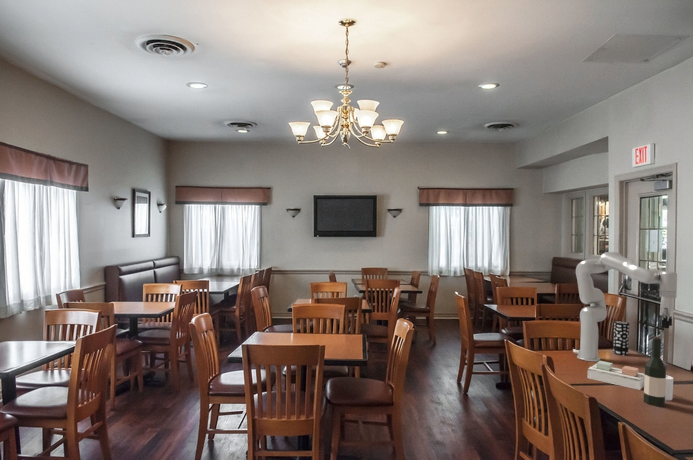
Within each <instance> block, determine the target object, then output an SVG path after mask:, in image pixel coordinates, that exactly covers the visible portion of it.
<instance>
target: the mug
mask: <svg viewBox="0 0 693 460" xmlns="http://www.w3.org/2000/svg"><path fill="white" fill-rule="evenodd" d="M673 398H674V377H673V376H670V375H667V374H666V389H665V401H673Z"/></svg>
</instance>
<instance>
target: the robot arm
mask: <svg viewBox="0 0 693 460" xmlns="http://www.w3.org/2000/svg"><path fill="white" fill-rule="evenodd" d="M575 267H576V268H575V275H576V279H577V288H578V294H579V300H580V301H581V303H582V304H585V305H590V306H584V307H583V308H581V310H580V312H579V320H580V346H579V349H574V348H573V349H572V353H574V354H577V355H576V358H577V359H579V360H581V361H586V362H595V363H597V362H599V361H601V358H600V357H599V356H598V355H599V353H598V352H599V351H598V350H599V325H598V323H600V322H603V321H604V320H605V319H606V318H607V316H608V310H607V305H606V298H605V294H604V292H603V291H602V290H601V289H599V288H598V287H595V286H594V280H593V277H591V274H601V273H605V272H607V271H610V270H612V269H613V270H615V271H618V272H620V273H622V274H624V275H626V276H627V277H628V278H630V279H632V280H634V281H637V282H641V283H643V284H647V285H648V284H659V295H658V296H659V298H660V305H659V308H660V309H659V316H662V318H661V328H662V329H669V328H670V327H672V326H673V316H674V304H675V299H676V298H677V290H678V274H677V272H676V271H672V270H660V269H653V268H652V269H646V268H645V267H641V266H638V265H637V264H634V262H633V260H632V259H630V258H627V257H625V256H623V254H621V253H619V252H616V251H606V252H603V253H602V254H601V255H600V256H599V258H598V259H597V258H594V259H592V258H591V259H590V258H589V259H588V258H587V259H584V260H582V261H580V262H579V263H577V265H576V266H575Z"/></svg>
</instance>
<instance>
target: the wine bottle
mask: <svg viewBox="0 0 693 460" xmlns="http://www.w3.org/2000/svg"><path fill="white" fill-rule="evenodd" d="M651 340H652V341H651V342H652V343H651V346H652V347H651V357H650V359H648V361H647V362H646V363H645V365H644V374H645V380H644V387H643V403H645V404H647V405H650V406H655V407H665V406H666V405H665V404H666V400H665V389H666V375H667V366H666V365H665V363H664V361H663V360H662V358H661V354H662V351H661V350H662V349H661V348H662V339H661V337H660V336H657V335H656V336H655V335H654V336H653V337H652V339H651Z"/></svg>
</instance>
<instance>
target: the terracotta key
mask: <svg viewBox="0 0 693 460" xmlns="http://www.w3.org/2000/svg"><path fill="white" fill-rule="evenodd" d="M621 369H622V374H625V375H630V376H634V377H636V376H637V375H638V372H639V368H637V367H633V366H628V365H624V366H623V367H621Z"/></svg>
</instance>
